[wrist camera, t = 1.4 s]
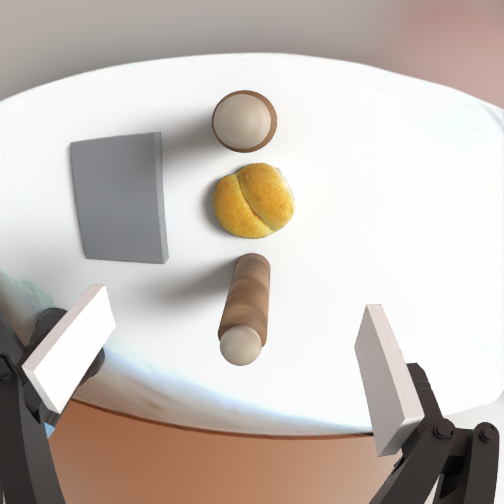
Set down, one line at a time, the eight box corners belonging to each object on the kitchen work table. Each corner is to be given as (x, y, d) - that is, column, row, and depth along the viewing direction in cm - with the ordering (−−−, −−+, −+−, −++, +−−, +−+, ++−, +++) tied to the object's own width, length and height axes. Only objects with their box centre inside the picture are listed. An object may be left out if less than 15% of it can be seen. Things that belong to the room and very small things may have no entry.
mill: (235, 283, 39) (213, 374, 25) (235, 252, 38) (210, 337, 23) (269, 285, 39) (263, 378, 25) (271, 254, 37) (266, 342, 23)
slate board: (93, 252, 39) (86, 258, 37) (79, 140, 33) (70, 142, 31) (168, 257, 39) (163, 264, 37) (160, 131, 32) (154, 132, 30)
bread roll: (203, 187, 35) (195, 196, 31) (272, 152, 32) (271, 156, 29) (237, 246, 37) (233, 260, 34) (304, 215, 35) (307, 226, 31)
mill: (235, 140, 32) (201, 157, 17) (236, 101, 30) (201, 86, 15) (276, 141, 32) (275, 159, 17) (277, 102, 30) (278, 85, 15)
